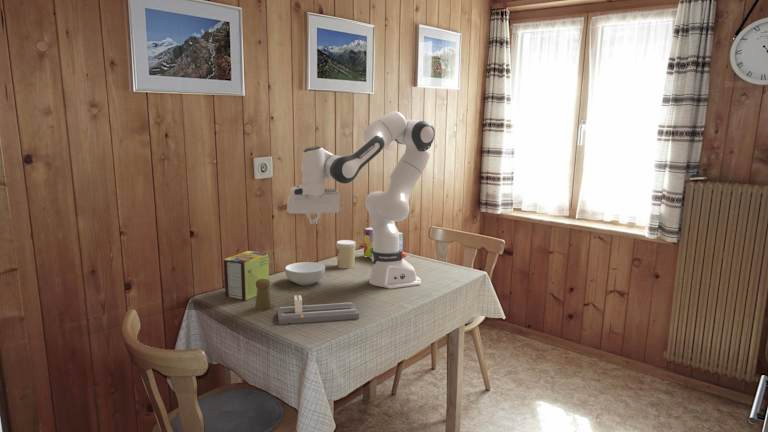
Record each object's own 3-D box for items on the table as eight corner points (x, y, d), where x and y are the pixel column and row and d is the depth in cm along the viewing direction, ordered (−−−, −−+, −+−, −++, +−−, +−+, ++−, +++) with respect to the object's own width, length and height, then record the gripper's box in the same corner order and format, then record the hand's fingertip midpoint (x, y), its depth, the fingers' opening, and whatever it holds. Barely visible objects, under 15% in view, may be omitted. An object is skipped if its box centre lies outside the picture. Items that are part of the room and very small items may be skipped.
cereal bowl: (332, 280, 236) (332, 264, 235) (311, 291, 221) (311, 274, 220) (299, 274, 243) (299, 259, 242) (277, 285, 228) (277, 269, 227)
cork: (256, 305, 204) (255, 277, 202) (272, 304, 205) (271, 277, 203) (254, 310, 198) (253, 282, 196) (270, 310, 199) (269, 281, 197)
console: (353, 307, 203) (353, 300, 202) (358, 318, 192) (359, 311, 192) (277, 313, 196) (277, 305, 196) (278, 324, 186) (278, 316, 185)
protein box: (269, 289, 222) (269, 253, 219) (245, 301, 208) (244, 262, 205) (249, 286, 226) (248, 250, 224) (224, 297, 213) (222, 259, 210)
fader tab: (301, 308, 195) (300, 294, 194) (302, 313, 190) (302, 299, 189) (294, 308, 194) (294, 295, 193) (295, 313, 190) (295, 299, 189)
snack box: (403, 262, 266) (403, 232, 263) (396, 264, 262) (396, 234, 259) (369, 255, 279) (370, 226, 276) (362, 257, 275) (363, 228, 272)
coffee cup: (338, 263, 262) (338, 239, 260) (357, 264, 261) (357, 240, 259) (334, 268, 253) (334, 243, 251) (353, 269, 252) (353, 244, 250)
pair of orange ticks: (300, 306, 198) (300, 305, 198) (303, 317, 187) (303, 316, 187) (298, 306, 198) (298, 305, 198) (301, 317, 187) (301, 316, 187)
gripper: (338, 187, 213) (338, 222, 215) (286, 188, 208) (287, 223, 211) (341, 189, 207) (341, 225, 209) (287, 190, 202) (287, 226, 205)
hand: (313, 224), depth 210 cm, fingers closed
